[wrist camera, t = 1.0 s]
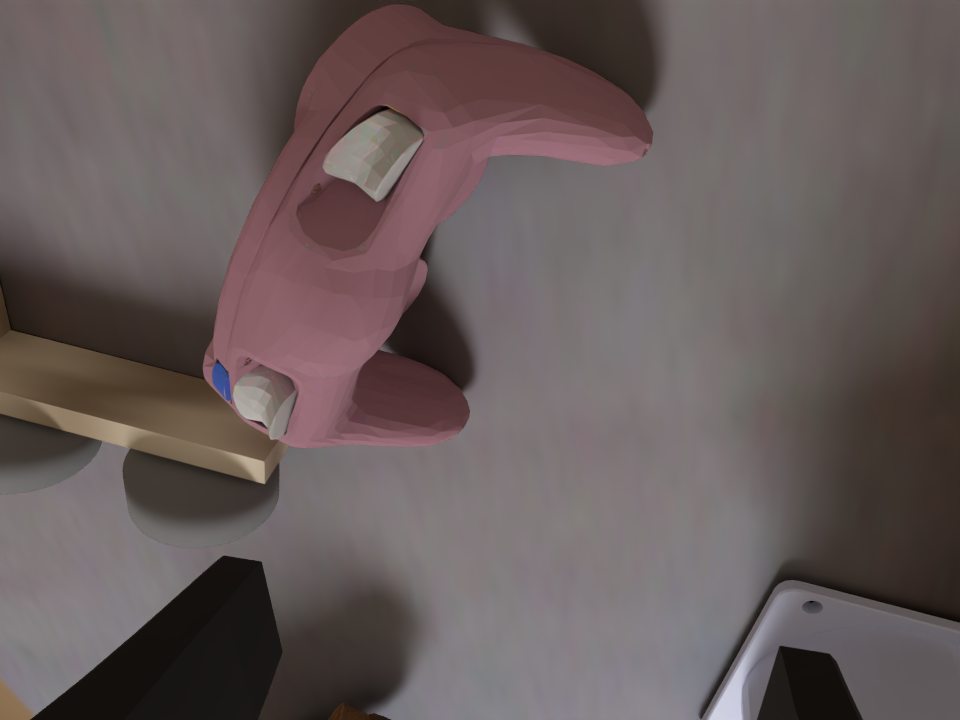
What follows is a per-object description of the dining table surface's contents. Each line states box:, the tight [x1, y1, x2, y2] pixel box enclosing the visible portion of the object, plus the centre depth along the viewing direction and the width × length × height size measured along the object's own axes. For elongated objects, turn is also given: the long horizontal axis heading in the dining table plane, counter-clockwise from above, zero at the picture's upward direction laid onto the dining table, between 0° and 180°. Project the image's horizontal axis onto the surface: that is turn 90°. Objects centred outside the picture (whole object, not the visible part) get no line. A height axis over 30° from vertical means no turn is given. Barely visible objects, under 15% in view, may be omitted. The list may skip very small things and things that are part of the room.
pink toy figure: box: [203, 4, 653, 448], centre depth 16 cm, size 10×5×7 cm, turn 153°
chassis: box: [0, 284, 289, 548], centre depth 17 cm, size 12×18×4 cm
